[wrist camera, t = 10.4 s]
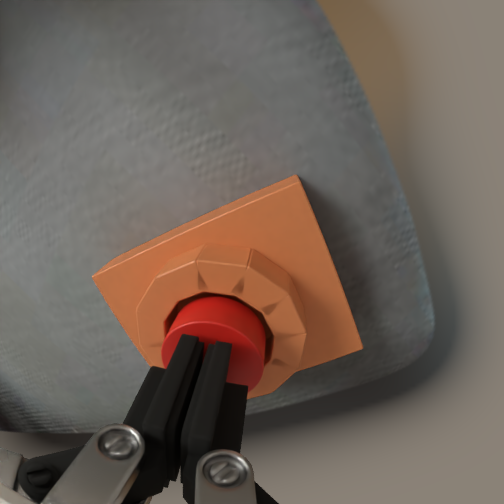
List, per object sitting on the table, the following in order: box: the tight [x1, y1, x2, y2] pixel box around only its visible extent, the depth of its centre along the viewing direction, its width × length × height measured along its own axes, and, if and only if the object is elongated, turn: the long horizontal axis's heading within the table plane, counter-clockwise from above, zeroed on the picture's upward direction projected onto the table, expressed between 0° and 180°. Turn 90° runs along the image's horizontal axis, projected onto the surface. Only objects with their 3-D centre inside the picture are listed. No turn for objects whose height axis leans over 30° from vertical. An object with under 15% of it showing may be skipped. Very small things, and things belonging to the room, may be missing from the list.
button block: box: [92, 175, 363, 399], centre depth 14 cm, size 10×8×4 cm
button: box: [161, 297, 266, 393], centre depth 11 cm, size 4×4×2 cm
